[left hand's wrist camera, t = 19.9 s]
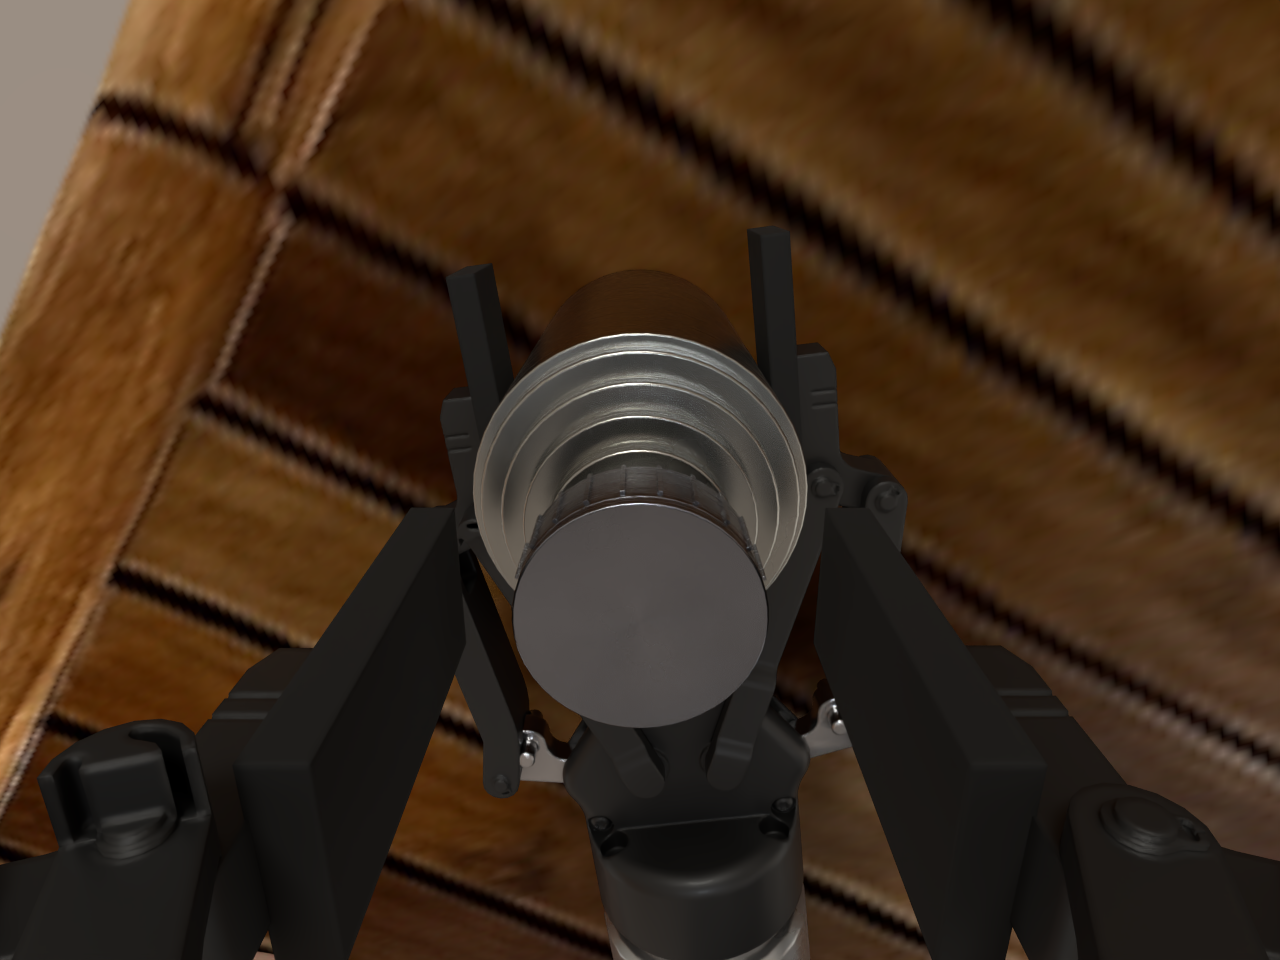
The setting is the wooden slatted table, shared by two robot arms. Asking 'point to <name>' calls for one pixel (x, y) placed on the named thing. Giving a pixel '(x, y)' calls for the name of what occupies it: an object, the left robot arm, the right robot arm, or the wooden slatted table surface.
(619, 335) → the bottle
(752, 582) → the cap
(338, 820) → the left robot arm
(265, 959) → the anatomical model
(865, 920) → the wooden slatted table surface
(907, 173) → the wooden slatted table surface
